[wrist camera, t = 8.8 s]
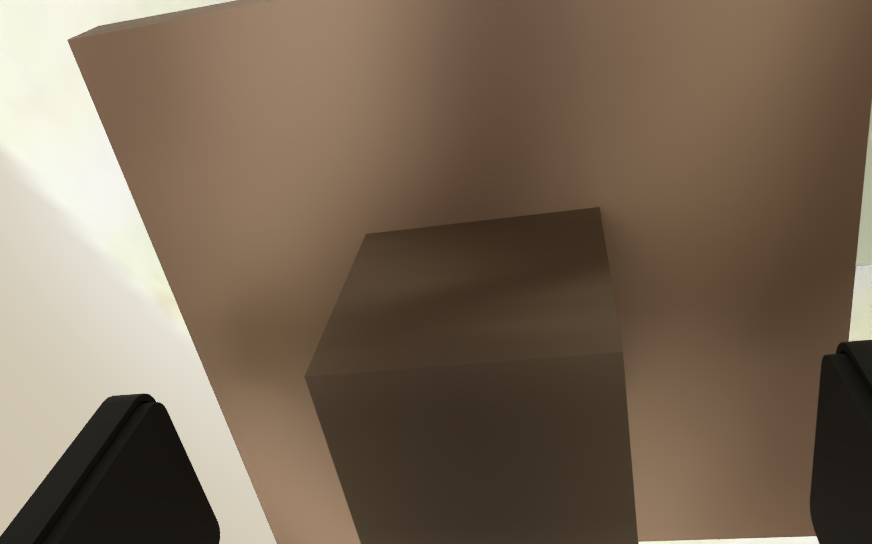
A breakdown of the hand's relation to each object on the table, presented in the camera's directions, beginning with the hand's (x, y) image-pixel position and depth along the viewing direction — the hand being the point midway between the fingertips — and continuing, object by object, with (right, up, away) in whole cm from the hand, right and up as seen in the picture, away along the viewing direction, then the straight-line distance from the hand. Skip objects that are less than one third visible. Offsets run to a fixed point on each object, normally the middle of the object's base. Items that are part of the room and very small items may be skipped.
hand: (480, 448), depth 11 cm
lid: (+1, +2, +4) cm, 4 cm away
